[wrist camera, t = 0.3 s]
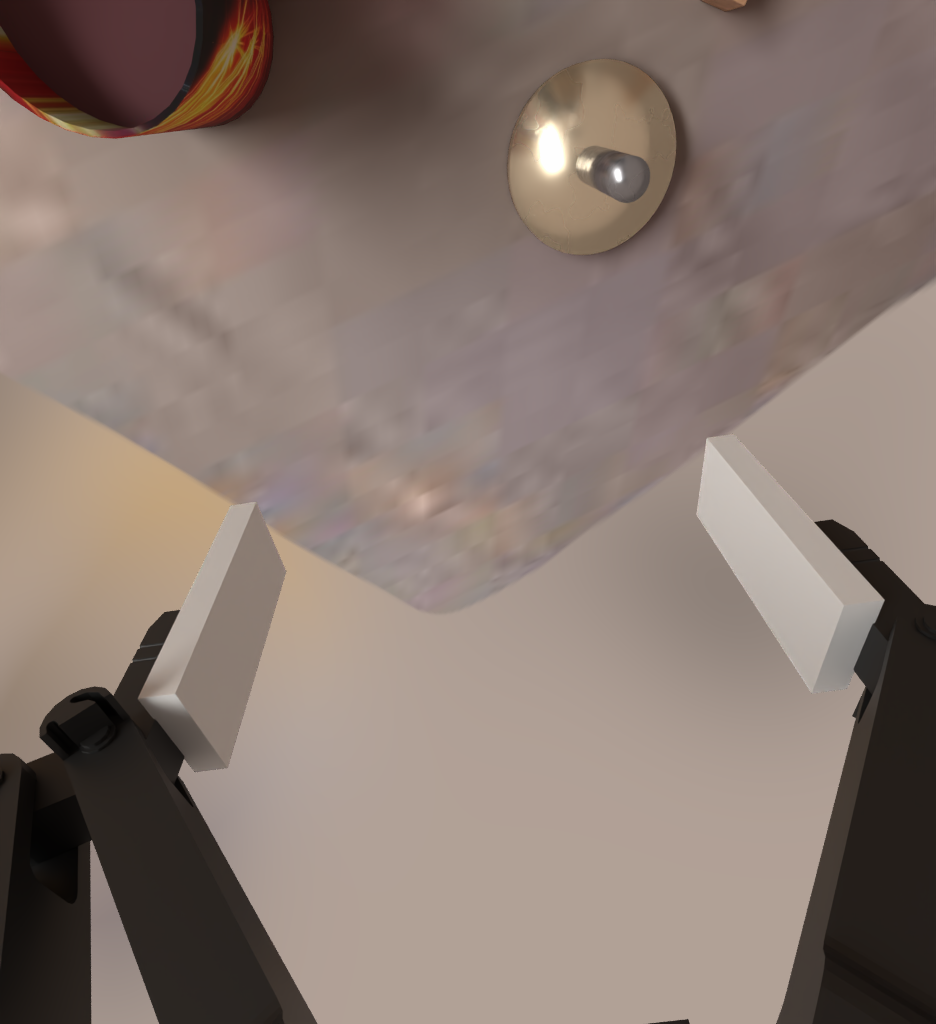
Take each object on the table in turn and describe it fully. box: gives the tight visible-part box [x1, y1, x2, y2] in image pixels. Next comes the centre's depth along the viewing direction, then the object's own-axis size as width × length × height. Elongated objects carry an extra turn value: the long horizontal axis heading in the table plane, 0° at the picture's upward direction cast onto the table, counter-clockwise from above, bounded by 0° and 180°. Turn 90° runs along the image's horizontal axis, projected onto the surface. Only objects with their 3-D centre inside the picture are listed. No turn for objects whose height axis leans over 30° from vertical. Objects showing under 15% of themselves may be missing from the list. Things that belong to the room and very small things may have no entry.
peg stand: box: [507, 59, 676, 255], centre depth 32 cm, size 10×10×9 cm
